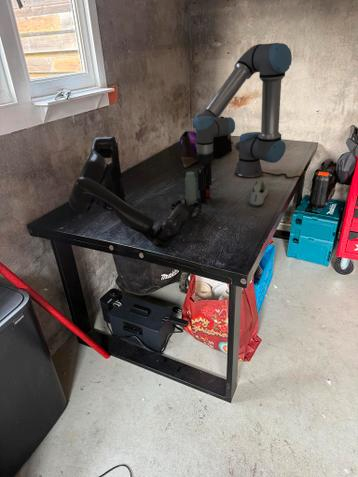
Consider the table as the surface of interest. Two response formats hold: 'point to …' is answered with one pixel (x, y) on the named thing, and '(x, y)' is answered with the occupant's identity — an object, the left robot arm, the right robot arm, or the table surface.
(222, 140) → the handbag
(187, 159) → the boot
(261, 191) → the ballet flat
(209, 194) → the lid
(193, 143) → the decorative orb
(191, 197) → the bottle
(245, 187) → the table surface
